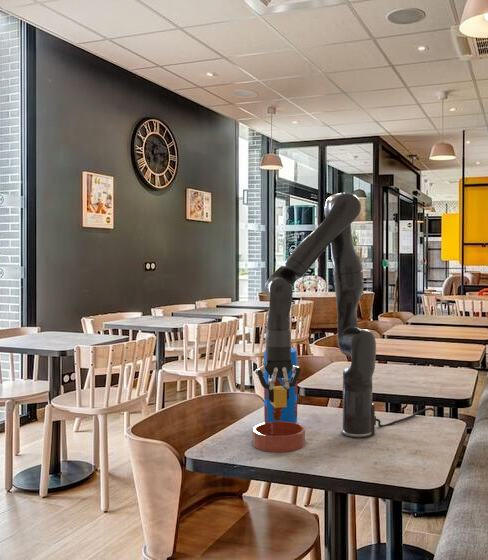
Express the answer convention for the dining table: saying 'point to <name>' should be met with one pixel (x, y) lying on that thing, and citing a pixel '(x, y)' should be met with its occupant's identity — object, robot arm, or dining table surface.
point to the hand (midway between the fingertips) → (278, 401)
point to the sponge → (279, 397)
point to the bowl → (279, 436)
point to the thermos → (291, 410)
